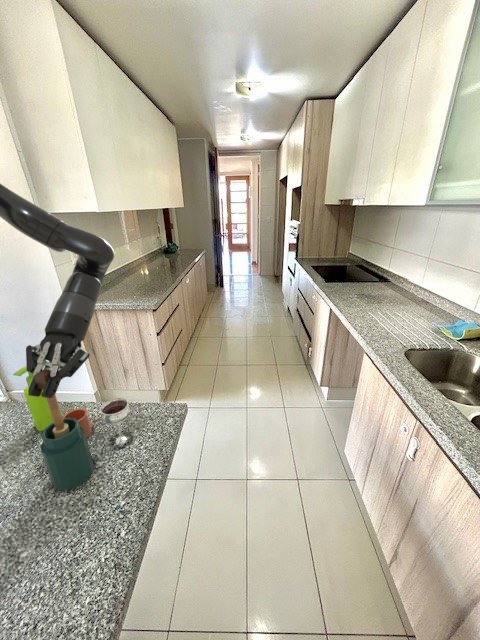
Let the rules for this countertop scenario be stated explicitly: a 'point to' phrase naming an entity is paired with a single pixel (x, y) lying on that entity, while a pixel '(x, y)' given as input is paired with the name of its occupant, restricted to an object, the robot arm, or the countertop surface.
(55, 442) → the bottle
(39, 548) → the countertop surface
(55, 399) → the brush
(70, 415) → the brush cup
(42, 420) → the soap dispenser
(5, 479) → the countertop surface
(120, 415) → the wineglass
